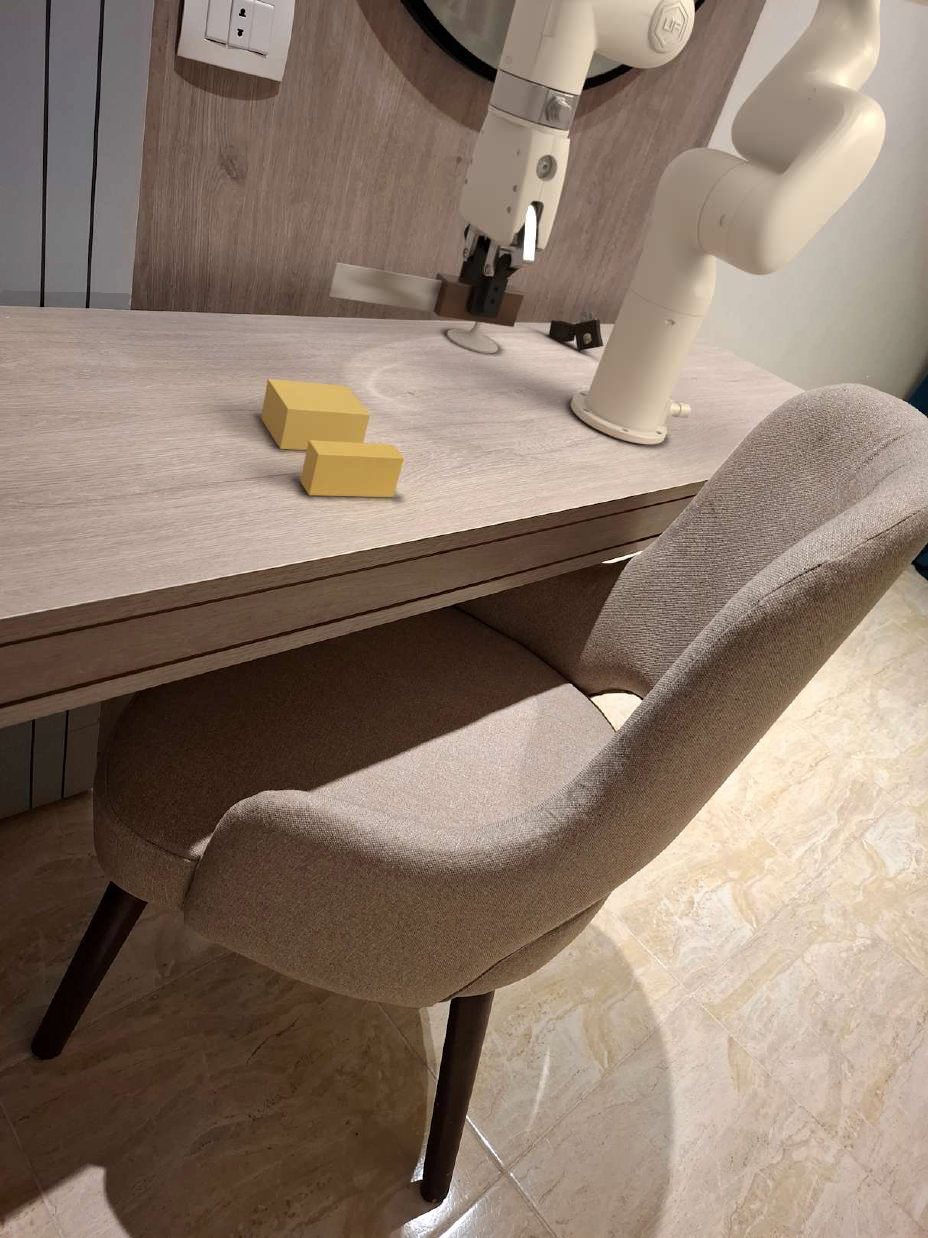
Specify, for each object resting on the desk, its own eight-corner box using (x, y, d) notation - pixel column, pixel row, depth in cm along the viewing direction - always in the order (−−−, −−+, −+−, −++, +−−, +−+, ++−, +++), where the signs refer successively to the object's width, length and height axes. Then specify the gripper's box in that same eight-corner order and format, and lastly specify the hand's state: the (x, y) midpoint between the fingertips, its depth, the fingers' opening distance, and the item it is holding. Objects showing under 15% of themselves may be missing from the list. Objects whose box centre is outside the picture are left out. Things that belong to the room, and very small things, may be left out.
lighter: (550, 356, 136) (544, 320, 135) (556, 354, 138) (550, 319, 136) (598, 347, 132) (592, 310, 130) (603, 345, 133) (598, 309, 132)
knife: (502, 317, 93) (512, 285, 92) (513, 327, 92) (524, 294, 90) (324, 290, 82) (332, 253, 81) (333, 300, 81) (342, 262, 79)
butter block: (338, 423, 90) (347, 385, 87) (360, 452, 86) (370, 414, 83) (260, 417, 85) (267, 378, 83) (280, 449, 81) (287, 408, 79)
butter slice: (383, 483, 82) (394, 444, 80) (393, 497, 80) (404, 457, 78) (299, 481, 78) (308, 439, 76) (308, 495, 76) (317, 453, 74)
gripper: (616, 138, 76) (546, 346, 87) (521, 93, 87) (469, 283, 97) (545, 119, 72) (481, 339, 83) (455, 74, 83) (407, 275, 93)
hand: (475, 307), depth 90 cm, fingers closed on knife, 2 cm apart
